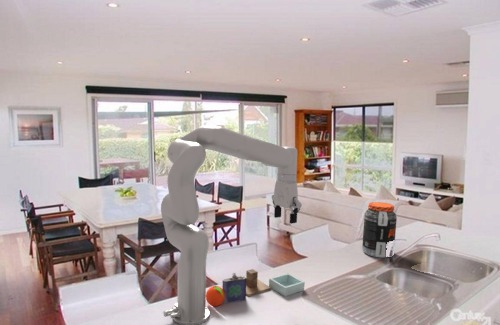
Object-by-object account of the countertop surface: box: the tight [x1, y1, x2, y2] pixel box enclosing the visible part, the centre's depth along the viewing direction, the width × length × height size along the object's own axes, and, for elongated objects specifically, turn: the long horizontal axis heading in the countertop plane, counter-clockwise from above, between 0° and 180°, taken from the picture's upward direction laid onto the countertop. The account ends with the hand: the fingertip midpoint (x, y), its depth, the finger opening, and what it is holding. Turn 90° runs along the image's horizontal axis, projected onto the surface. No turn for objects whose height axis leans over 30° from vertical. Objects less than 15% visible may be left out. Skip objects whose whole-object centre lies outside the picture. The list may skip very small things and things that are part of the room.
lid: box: [245, 268, 272, 297], centre depth 151 cm, size 11×11×7 cm
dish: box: [268, 273, 305, 297], centre depth 151 cm, size 10×10×4 cm
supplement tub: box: [361, 201, 398, 259], centre depth 194 cm, size 16×16×26 cm
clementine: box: [206, 285, 225, 307], centre depth 137 cm, size 8×7×7 cm
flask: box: [221, 272, 247, 304], centre depth 140 cm, size 9×3×11 cm, turn 109°
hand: (285, 220), depth 151 cm, fingers open, 9 cm apart
